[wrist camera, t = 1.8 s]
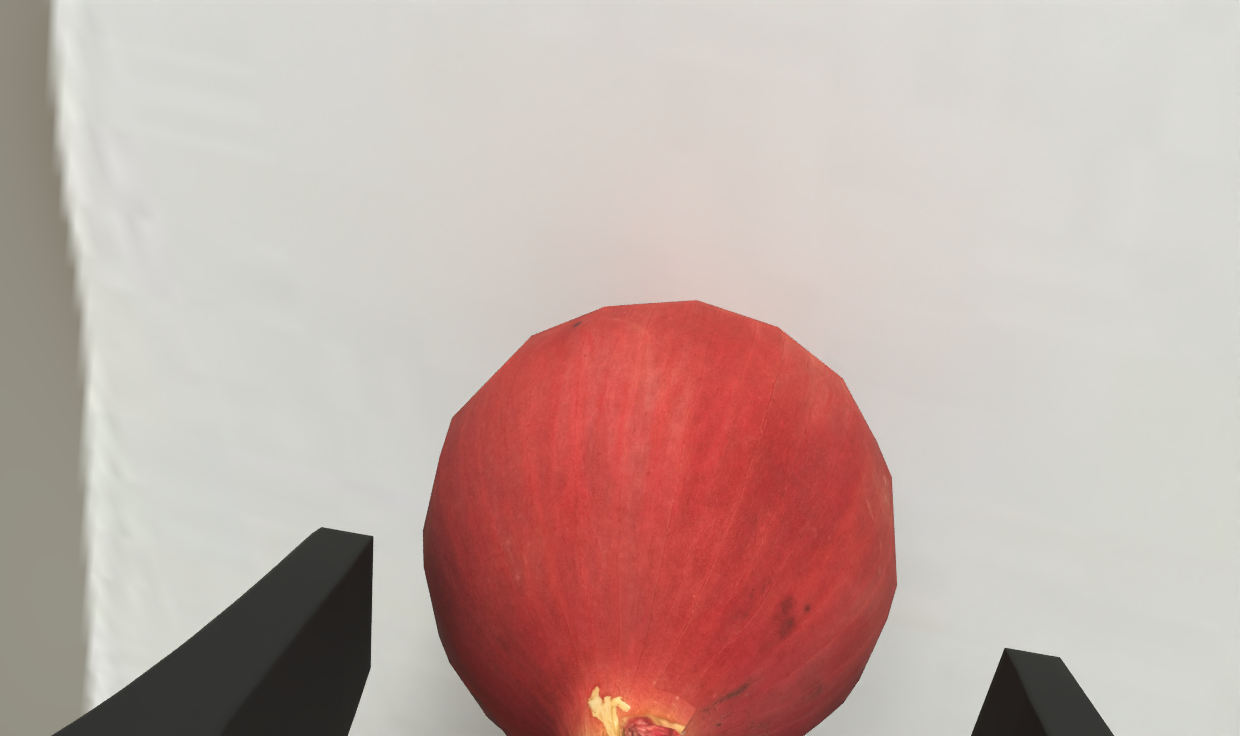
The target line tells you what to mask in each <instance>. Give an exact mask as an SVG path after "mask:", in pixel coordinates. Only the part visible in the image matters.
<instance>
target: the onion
mask: <svg viewBox="0 0 1240 736" xmlns="http://www.w3.org/2000/svg"><path fill="white" fill-rule="evenodd" d="M423 559H424V570H425V575H426V579H427V584H428V588H429V593H430V597H431V602H432V606H433V611H434V615H435V620H436V624H437V629H438V634H439V637H440V640H441V642H442V645H443V647H444V650H445V652H446V655H447V657H448V660H449V662H450V664H451V665H452V667H453V668H454V670H455V671H456V673H457V674H458V675H459V677H460V678H461V680H462V681H463V683H464V684H465V686H466V687H467V688H468V690H469V691H470V693H471V694H472V696H473V697H474V699H475V700H476V701H477V703H478V704H479V706H480V707H481V709H482V710H483V712H484V713H485V714H486V716H487V717H488V718H489V719H490V720H491V721H493V722H494V723H495V724H496V725H497V726H498V727H499V728H501V729H502V730H503V732H504V733H505V734H506V735H507V736H804V735H805V734H806V733H808V732H809V731H810V730H812V729H813V728H814V727H815V726H817V725H818V724H819V723H821V722H822V721H823V720H824V719H825V718H827V717H828V716H829V715H830V714H831V713H832V712H833V711H835V710H836V709H837V708H838V707H839V706H840V705H841V704H843V703H844V701H845V700H846V698H847V697H848V695H849V694H850V692H851V691H852V690H853V688H854V687H855V685H856V684H857V682H858V681H859V679H860V677H861V675H862V673H863V671H864V668H865V666H866V664H867V662H868V660H869V658H870V655H871V653H872V651H873V649H874V647H875V645H876V642H877V640H878V638H879V636H880V634H881V632H882V629H883V627H884V625H885V623H886V621H887V618H888V615H889V611H890V608H891V604H892V601H893V597H894V594H895V590H896V587H897V575H896V555H895V534H894V514H893V494H892V477H891V474H890V472H889V470H888V467H887V465H886V462H885V460H884V458H883V455H882V453H881V451H880V448H879V446H878V443H877V441H876V439H875V437H874V436H873V434H872V432H871V430H870V428H869V426H868V424H867V423H866V421H865V419H864V417H863V415H862V413H861V412H860V410H859V408H858V406H857V404H856V402H855V401H854V399H853V397H852V395H851V393H850V391H849V389H848V388H847V386H846V384H845V382H844V380H843V378H841V377H840V376H839V375H838V374H836V373H835V372H834V371H833V370H831V369H830V368H829V367H828V366H826V365H825V364H824V363H822V362H821V361H820V360H819V359H817V358H816V357H815V356H814V355H812V354H811V353H810V352H809V351H807V350H806V349H805V348H804V347H802V346H801V345H800V344H798V343H797V342H796V341H795V340H793V339H792V338H791V337H790V336H788V335H787V334H786V333H785V332H783V331H782V330H781V329H780V328H778V327H776V326H773V325H770V324H767V323H764V322H761V321H758V320H755V319H752V318H749V317H746V316H743V315H740V314H737V313H734V312H731V311H728V310H725V309H722V308H719V307H716V306H713V305H710V304H707V303H704V302H701V301H698V300H694V301H679V302H664V303H648V304H633V305H620V306H608V307H603V308H601V309H598V310H595V311H593V312H590V313H588V314H585V315H583V316H580V317H578V318H575V319H573V320H570V321H568V322H565V323H563V324H560V325H558V326H555V327H553V328H550V329H548V330H545V331H542V332H540V333H537V334H535V335H532V336H531V337H530V338H529V339H528V340H527V341H526V342H525V343H524V344H523V345H522V346H521V347H520V348H519V349H518V350H517V351H516V352H515V354H514V355H513V356H512V357H511V358H510V359H509V360H508V361H507V362H506V363H505V364H504V365H503V366H502V367H501V368H500V369H499V370H498V371H497V372H496V373H495V374H494V375H493V376H492V377H491V378H490V379H489V380H488V381H487V382H486V383H485V384H484V386H483V387H482V388H481V389H480V390H479V391H478V392H477V393H476V394H475V395H474V396H473V397H472V398H471V399H470V400H469V401H468V402H467V403H466V404H465V405H464V406H463V407H462V408H461V409H460V410H459V411H458V412H457V413H456V414H455V415H454V416H453V418H452V420H451V423H450V426H449V429H448V432H447V435H446V439H445V442H444V445H443V448H442V451H441V454H440V458H439V462H438V467H437V471H436V475H435V480H434V484H433V489H432V493H431V498H430V502H429V506H428V511H427V515H426V520H425V524H424V529H423Z"/></svg>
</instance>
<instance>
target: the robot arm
mask: <svg viewBox="0 0 1240 736" xmlns="http://www.w3.org/2000/svg"><path fill="white" fill-rule="evenodd" d="M372 576H373V536H368V535H363V534H357V533H351V532H346V531H340V530H334V529H329V528H323V527H321V528H320V529H318V530H317V531H315V532H314V533H312V534H311V535H310V536H309V537H308V538H306V539H305V540H304V541H303V542H302V543H301V544H300V545H299V546H298V547H296V548H295V549H294V550H293V551H292V552H291V553H290V554H289V555H288V556H287V557H285V558H284V559H283V560H282V561H281V562H280V563H279V564H278V565H277V566H275V567H274V568H273V569H272V570H271V571H270V572H269V573H268V574H266V575H265V576H264V577H263V578H262V579H261V580H260V581H258V582H257V583H256V584H255V585H254V586H253V587H252V588H250V589H249V590H248V591H247V592H246V593H245V594H243V595H242V596H241V597H240V598H239V599H238V600H236V601H235V602H234V603H233V604H232V605H230V606H229V607H228V608H227V609H226V610H224V611H223V612H222V613H221V614H219V615H218V616H217V617H216V618H215V619H213V620H212V621H211V622H210V623H208V624H207V625H206V626H205V627H204V628H202V629H201V630H200V631H199V632H197V633H196V634H195V635H194V636H193V637H191V638H190V639H189V640H188V641H186V642H185V643H184V644H182V645H181V646H180V647H179V648H177V649H176V650H175V651H173V652H172V653H171V654H169V655H168V656H167V657H165V658H164V659H162V660H161V661H160V662H158V663H157V664H156V665H154V666H153V667H152V668H150V669H149V670H148V671H146V672H145V673H144V674H142V675H141V676H140V677H138V678H137V679H135V680H134V681H133V682H131V683H130V684H129V685H127V686H126V687H125V688H123V689H122V690H120V691H119V692H118V693H116V694H115V695H113V696H112V697H110V698H109V699H107V700H106V701H104V702H103V703H101V704H100V705H98V706H97V707H96V708H94V709H93V710H91V711H89V712H88V713H86V714H85V715H83V716H82V717H80V718H79V719H77V720H76V721H74V722H73V723H71V724H69V725H68V726H66V727H65V728H63V729H61V730H60V731H58V732H57V733H55V734H53V735H52V736H348V733H349V731H350V728H351V725H352V722H353V719H354V716H355V713H356V710H357V707H358V704H359V701H360V698H361V695H362V692H363V689H364V686H365V683H366V680H367V677H368V674H369V671H370V668H371V623H372ZM971 736H1114V735H1113V733H1112V732H1111V731H1110V729H1109V728H1108V726H1107V725H1106V723H1105V722H1104V720H1103V719H1102V718H1101V716H1100V715H1099V713H1098V712H1097V710H1096V709H1095V707H1094V706H1093V704H1092V703H1091V702H1090V700H1089V699H1088V697H1087V696H1086V694H1085V693H1084V691H1083V690H1082V688H1081V687H1080V686H1079V684H1078V683H1077V681H1076V680H1075V678H1074V677H1073V675H1072V674H1071V673H1070V671H1069V670H1068V668H1067V667H1066V665H1065V664H1064V663H1063V661H1062V660H1061V658H1060V657H1054V656H1048V655H1043V654H1037V653H1031V652H1026V651H1020V650H1014V649H1009V648H1005V649H1004V651H1003V654H1002V657H1001V659H1000V662H999V664H998V667H997V670H996V672H995V675H994V677H993V680H992V683H991V685H990V688H989V690H988V693H987V696H986V698H985V701H984V703H983V706H982V709H981V711H980V714H979V716H978V719H977V722H976V724H975V727H974V729H973V732H972V735H971Z"/></svg>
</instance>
